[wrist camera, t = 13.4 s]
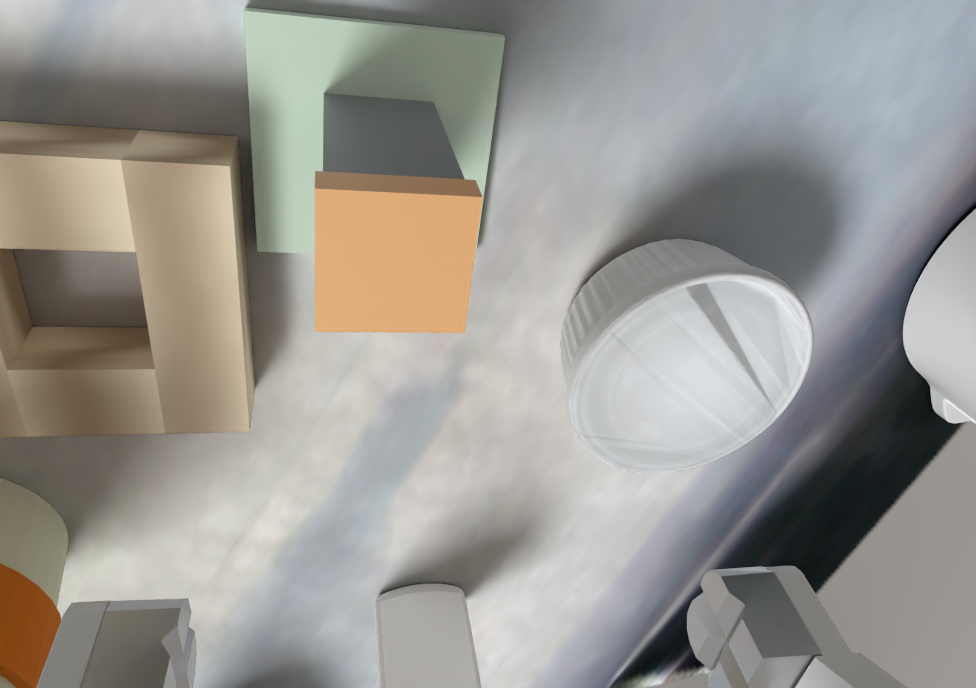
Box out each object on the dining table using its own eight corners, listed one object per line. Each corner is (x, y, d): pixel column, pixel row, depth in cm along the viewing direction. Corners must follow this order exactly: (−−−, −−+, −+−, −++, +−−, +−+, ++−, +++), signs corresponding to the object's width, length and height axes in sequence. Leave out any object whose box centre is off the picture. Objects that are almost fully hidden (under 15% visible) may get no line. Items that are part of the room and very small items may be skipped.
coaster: (502, 33, 26) (505, 37, 26) (473, 251, 31) (475, 258, 31) (245, 7, 24) (243, 10, 24) (258, 245, 29) (257, 251, 29)
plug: (439, 96, 27) (482, 197, 19) (429, 206, 29) (464, 332, 22) (317, 86, 26) (314, 188, 18) (318, 201, 28) (315, 331, 21)
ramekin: (801, 249, 35) (867, 306, 30) (688, 420, 40) (731, 489, 36) (602, 187, 31) (646, 243, 27) (507, 386, 36) (532, 458, 32)
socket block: (238, 136, 27) (229, 166, 24) (255, 388, 33) (249, 431, 31) (-138, 112, 24) (-190, 142, 22) (-38, 391, 31) (-69, 439, 28)
